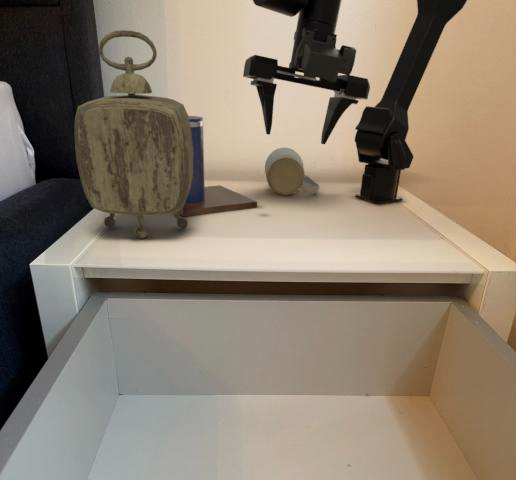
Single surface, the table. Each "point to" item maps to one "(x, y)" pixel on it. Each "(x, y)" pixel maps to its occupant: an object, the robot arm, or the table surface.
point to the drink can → (197, 161)
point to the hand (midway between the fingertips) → (295, 139)
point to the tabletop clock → (134, 147)
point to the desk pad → (218, 202)
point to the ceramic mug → (287, 173)
